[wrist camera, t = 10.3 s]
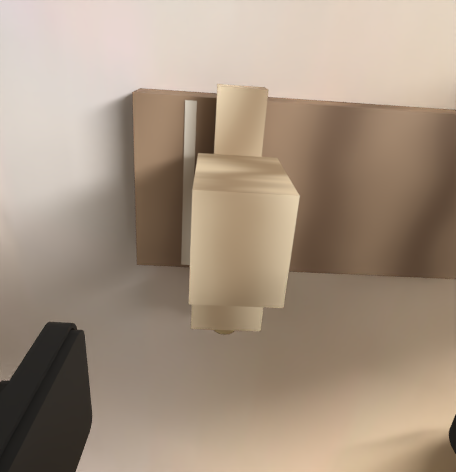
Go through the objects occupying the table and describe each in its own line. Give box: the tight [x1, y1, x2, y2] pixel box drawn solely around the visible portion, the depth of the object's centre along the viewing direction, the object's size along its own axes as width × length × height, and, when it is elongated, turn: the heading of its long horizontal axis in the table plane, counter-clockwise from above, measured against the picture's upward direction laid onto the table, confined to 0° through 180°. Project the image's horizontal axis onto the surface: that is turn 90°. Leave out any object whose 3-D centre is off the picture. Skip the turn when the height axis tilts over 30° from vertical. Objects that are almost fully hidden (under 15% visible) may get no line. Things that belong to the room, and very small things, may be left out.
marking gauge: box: [189, 84, 300, 334], centre depth 21 cm, size 4×14×10 cm, turn 176°
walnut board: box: [132, 88, 456, 279], centre depth 25 cm, size 23×10×3 cm, turn 86°
